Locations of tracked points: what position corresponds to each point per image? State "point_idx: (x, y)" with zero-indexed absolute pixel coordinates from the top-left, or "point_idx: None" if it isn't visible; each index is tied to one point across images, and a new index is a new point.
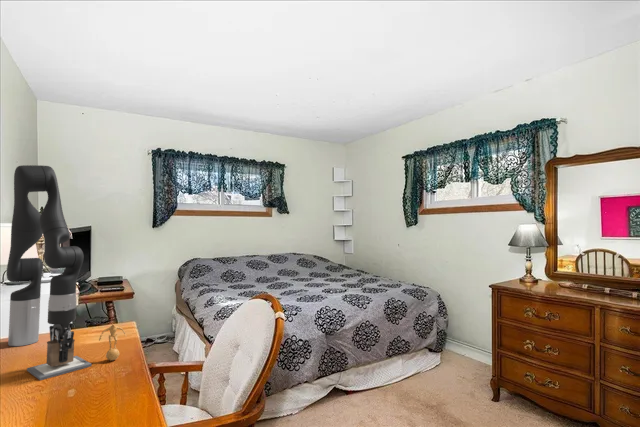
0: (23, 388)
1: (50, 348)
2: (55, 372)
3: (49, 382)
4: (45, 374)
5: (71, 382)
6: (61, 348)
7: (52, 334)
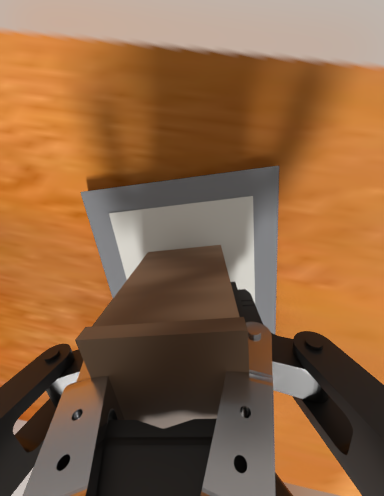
0: (25, 116)
1: (150, 303)
2: (112, 252)
3: (44, 215)
4: (109, 216)
5: (4, 271)
6: (52, 354)
7: (269, 471)
